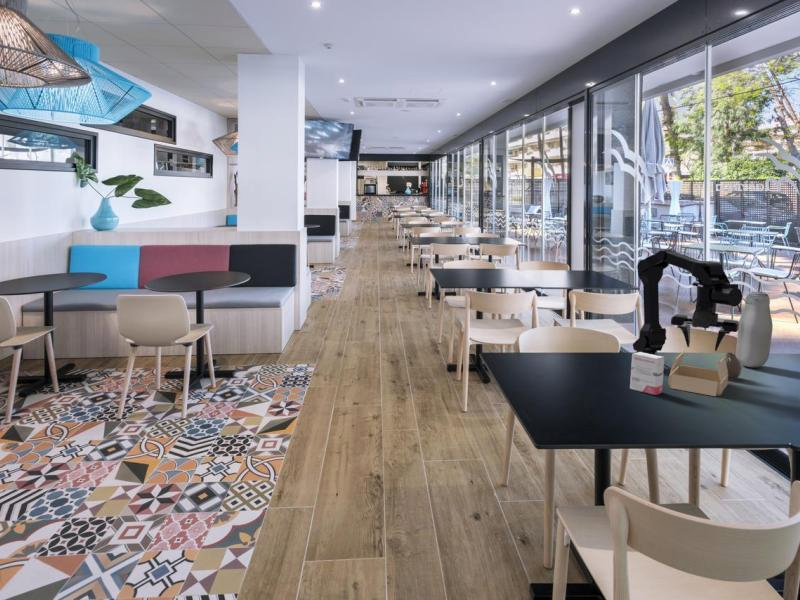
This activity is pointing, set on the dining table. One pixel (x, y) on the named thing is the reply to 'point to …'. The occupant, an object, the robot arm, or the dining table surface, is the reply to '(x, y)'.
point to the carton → (697, 380)
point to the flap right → (722, 368)
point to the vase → (732, 366)
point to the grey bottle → (754, 331)
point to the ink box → (647, 373)
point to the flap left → (677, 361)
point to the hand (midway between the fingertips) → (701, 348)
